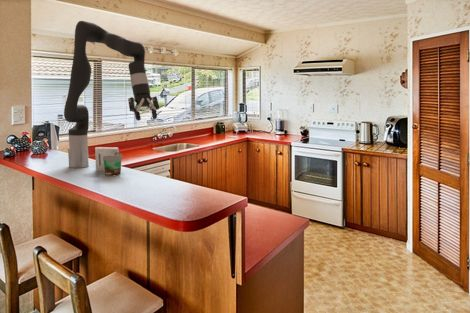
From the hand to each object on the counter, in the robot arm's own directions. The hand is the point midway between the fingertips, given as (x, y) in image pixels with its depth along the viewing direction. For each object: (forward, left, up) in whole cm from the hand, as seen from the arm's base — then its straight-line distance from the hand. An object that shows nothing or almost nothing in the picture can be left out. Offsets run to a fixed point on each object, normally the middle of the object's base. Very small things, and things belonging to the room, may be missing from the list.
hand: (147, 119), depth 164 cm
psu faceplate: (-22, +21, -28) cm, 42 cm away
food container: (-16, +12, -28) cm, 35 cm away
